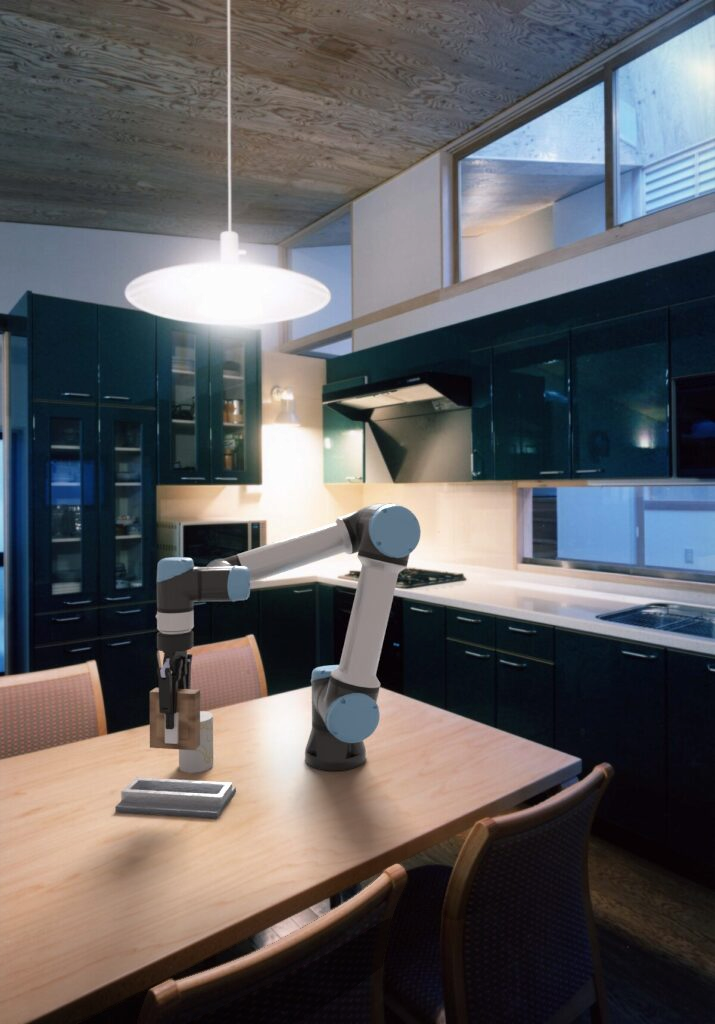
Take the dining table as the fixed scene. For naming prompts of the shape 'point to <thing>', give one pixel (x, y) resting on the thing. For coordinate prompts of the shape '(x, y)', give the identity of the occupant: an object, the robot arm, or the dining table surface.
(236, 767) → the dining table surface
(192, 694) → the door panel
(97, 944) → the dining table surface
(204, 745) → the yellow-veined white cylinder
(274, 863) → the dining table surface
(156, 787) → the track
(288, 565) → the robot arm
